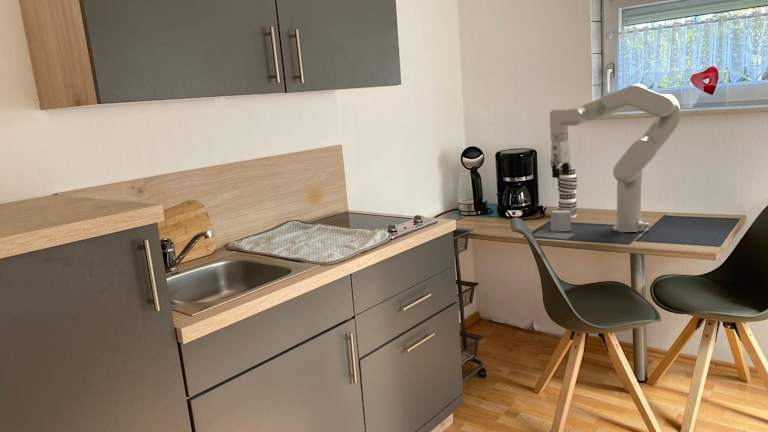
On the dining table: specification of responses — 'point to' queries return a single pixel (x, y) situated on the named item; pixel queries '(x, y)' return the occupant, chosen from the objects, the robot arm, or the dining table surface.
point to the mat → (553, 235)
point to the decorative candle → (567, 191)
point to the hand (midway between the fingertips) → (560, 175)
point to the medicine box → (560, 221)
